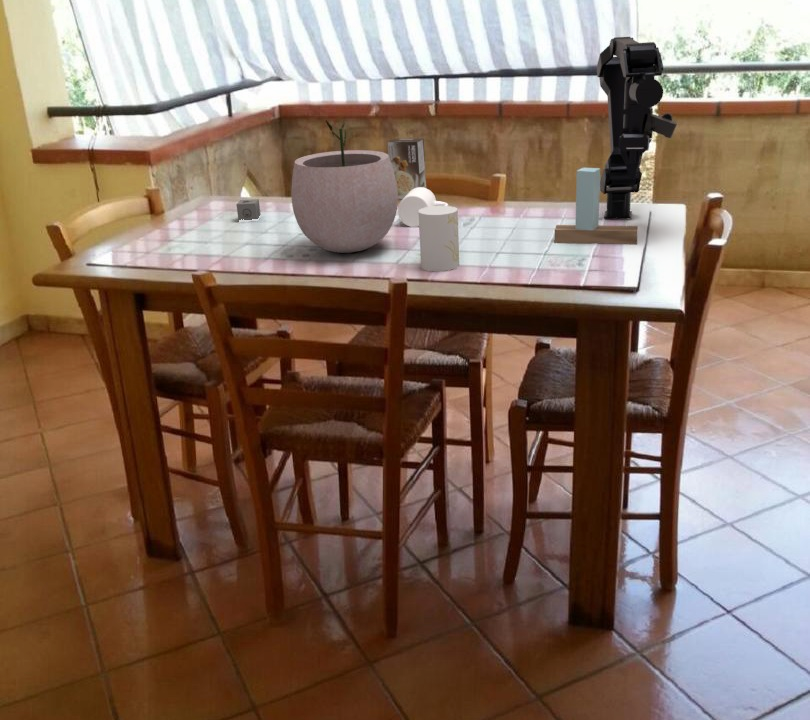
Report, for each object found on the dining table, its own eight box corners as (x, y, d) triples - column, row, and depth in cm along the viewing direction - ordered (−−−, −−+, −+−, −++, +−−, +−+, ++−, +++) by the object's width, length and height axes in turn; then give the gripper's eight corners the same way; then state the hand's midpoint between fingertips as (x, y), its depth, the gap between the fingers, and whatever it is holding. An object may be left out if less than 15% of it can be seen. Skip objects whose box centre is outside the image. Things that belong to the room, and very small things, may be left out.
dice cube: (242, 218, 237) (240, 200, 235) (260, 217, 236) (258, 199, 234) (238, 223, 232) (236, 204, 230) (257, 222, 232) (255, 203, 230)
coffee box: (427, 195, 251) (425, 137, 245) (421, 200, 246) (418, 141, 239) (397, 194, 254) (394, 138, 248) (390, 199, 248) (386, 141, 242)
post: (581, 224, 200) (582, 167, 194) (598, 226, 198) (600, 168, 193) (575, 229, 196) (576, 170, 191) (592, 230, 194) (594, 171, 189)
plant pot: (412, 236, 209) (406, 107, 198) (383, 266, 188) (374, 122, 176) (318, 234, 216) (307, 109, 204) (280, 262, 195) (265, 124, 183)
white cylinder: (456, 271, 182) (454, 214, 177) (417, 271, 183) (415, 214, 179) (461, 260, 189) (460, 205, 184) (424, 260, 191) (422, 205, 186)
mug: (398, 227, 219) (396, 195, 216) (406, 217, 228) (405, 187, 225) (446, 227, 216) (444, 195, 213) (452, 217, 225) (451, 186, 222)
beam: (556, 237, 202) (556, 224, 201) (637, 238, 197) (637, 225, 196) (554, 242, 198) (554, 229, 197) (636, 244, 193) (637, 231, 192)
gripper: (674, 106, 181) (670, 182, 187) (677, 98, 198) (673, 168, 203) (619, 108, 185) (616, 182, 190) (626, 100, 201) (623, 168, 207)
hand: (634, 175), depth 198 cm, fingers open, 9 cm apart
